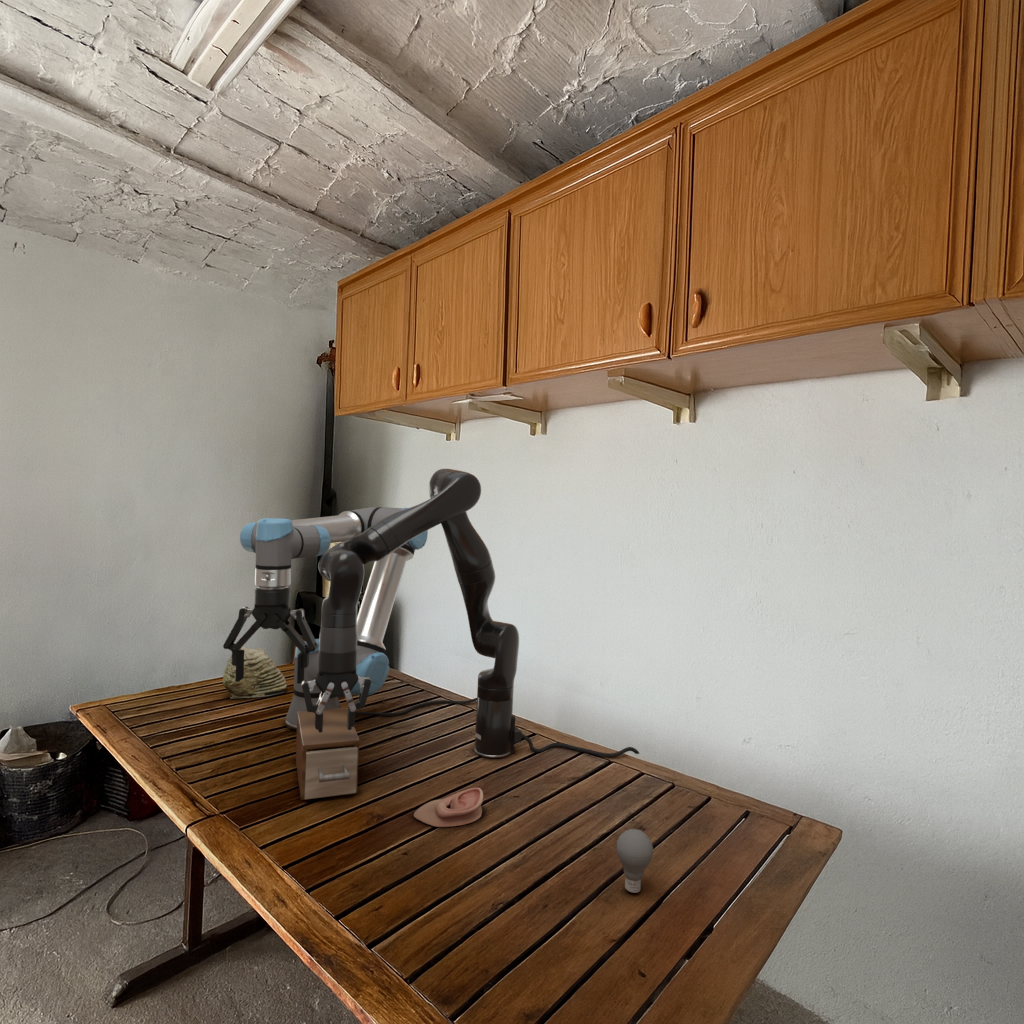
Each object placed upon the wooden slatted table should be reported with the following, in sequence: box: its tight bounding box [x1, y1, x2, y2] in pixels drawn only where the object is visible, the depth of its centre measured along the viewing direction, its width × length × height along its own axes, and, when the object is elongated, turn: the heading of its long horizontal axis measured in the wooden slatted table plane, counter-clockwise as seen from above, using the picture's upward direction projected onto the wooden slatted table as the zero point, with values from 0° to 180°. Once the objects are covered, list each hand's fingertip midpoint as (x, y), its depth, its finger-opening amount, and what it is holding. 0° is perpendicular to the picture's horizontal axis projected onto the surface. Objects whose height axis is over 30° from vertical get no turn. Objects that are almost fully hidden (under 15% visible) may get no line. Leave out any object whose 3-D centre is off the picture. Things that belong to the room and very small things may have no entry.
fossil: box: [222, 646, 288, 699], centre depth 198 cm, size 9×18×15 cm, turn 132°
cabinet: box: [295, 707, 360, 801], centre depth 144 cm, size 22×12×12 cm, turn 22°
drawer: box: [304, 746, 358, 800], centre depth 139 cm, size 26×10×10 cm, turn 22°
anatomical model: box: [413, 787, 484, 828], centre depth 129 cm, size 13×4×12 cm
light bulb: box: [615, 828, 654, 894], centre depth 106 cm, size 6×6×10 cm
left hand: (270, 681), depth 143 cm, fingers open, 13 cm apart
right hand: (334, 729), depth 129 cm, fingers open, 5 cm apart
